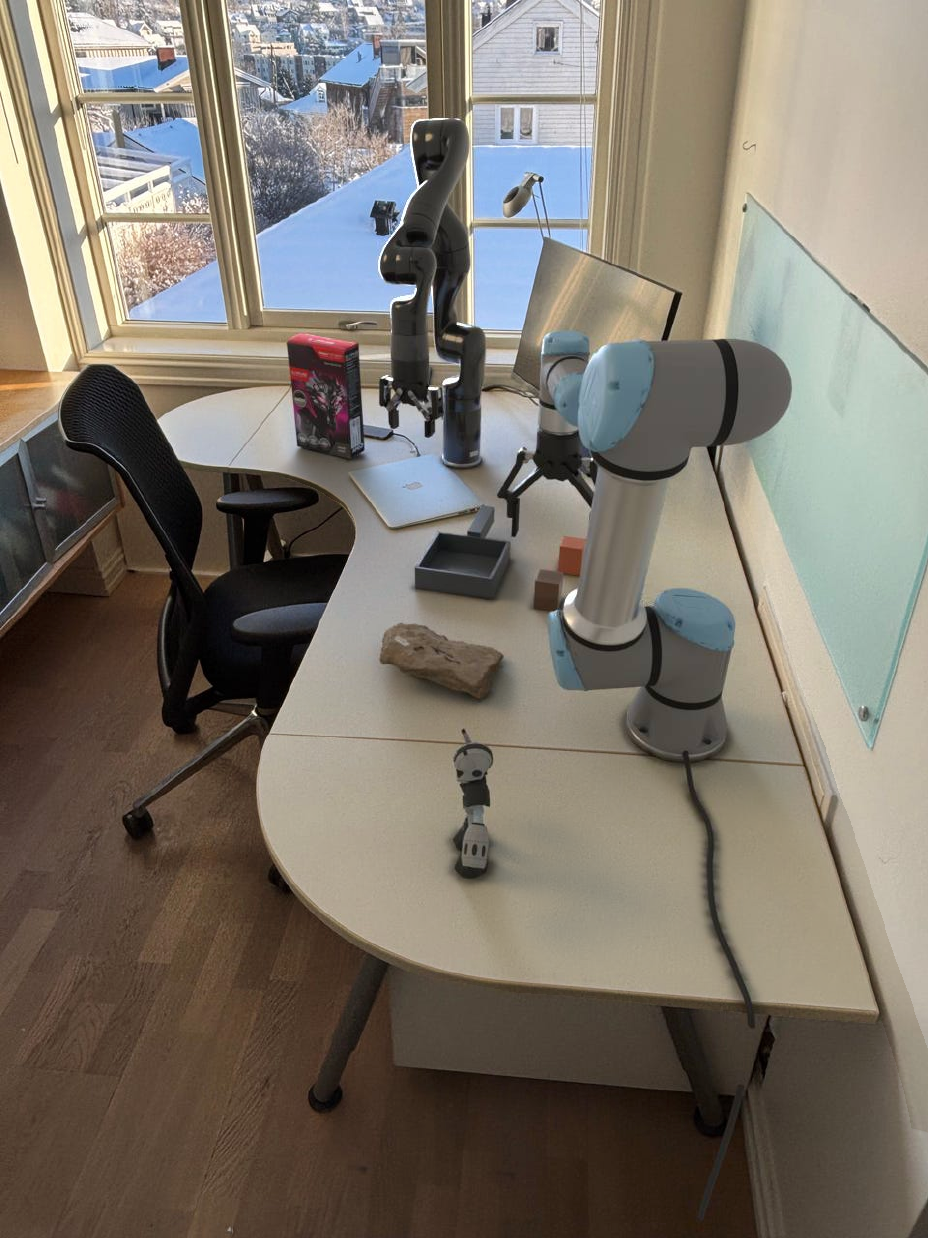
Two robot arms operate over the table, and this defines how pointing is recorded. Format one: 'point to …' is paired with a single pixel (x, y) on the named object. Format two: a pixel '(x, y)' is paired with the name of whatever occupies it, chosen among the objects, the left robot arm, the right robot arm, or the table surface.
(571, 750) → the table surface
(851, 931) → the table surface
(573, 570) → the terracotta block
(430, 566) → the tote
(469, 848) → the robot
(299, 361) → the graphics card box
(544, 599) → the walnut block
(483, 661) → the stone
